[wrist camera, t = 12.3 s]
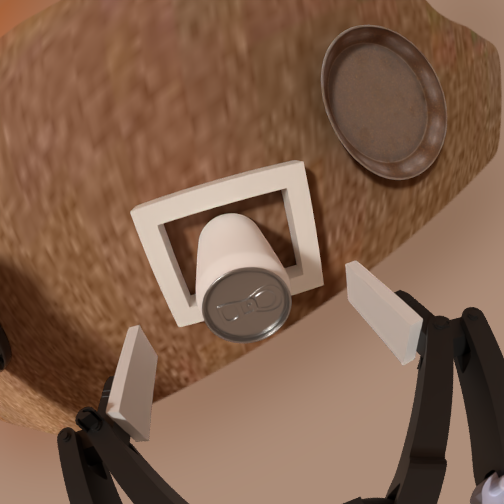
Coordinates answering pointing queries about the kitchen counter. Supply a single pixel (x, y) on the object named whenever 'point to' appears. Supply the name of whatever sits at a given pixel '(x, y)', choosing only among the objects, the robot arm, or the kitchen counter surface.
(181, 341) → the kitchen counter surface
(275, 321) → the can
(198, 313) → the socket collar
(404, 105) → the plant saucer
